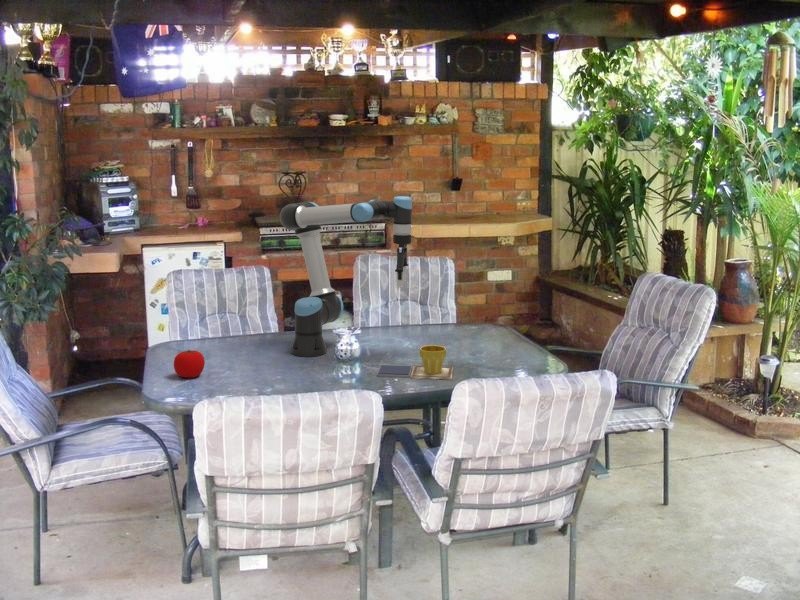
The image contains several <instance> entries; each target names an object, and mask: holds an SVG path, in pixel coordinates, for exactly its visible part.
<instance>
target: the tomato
mask: <svg viewBox="0 0 800 600" xmlns="http://www.w3.org/2000/svg"><path fill="white" fill-rule="evenodd" d="M205 362H206V361H205V357H204V354H202V353H201V351H198V350H185V351H180V352H178V353H177V354H176V355H175V357H174V360H173V369H174V372H175V374H176V375H178V376H179V377H182V378H189V379H190V378H196V377H199V376H200V375H201V374H202V372H203V371H204V368H205V366H206V365H205V364H206V363H205Z"/></svg>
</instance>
